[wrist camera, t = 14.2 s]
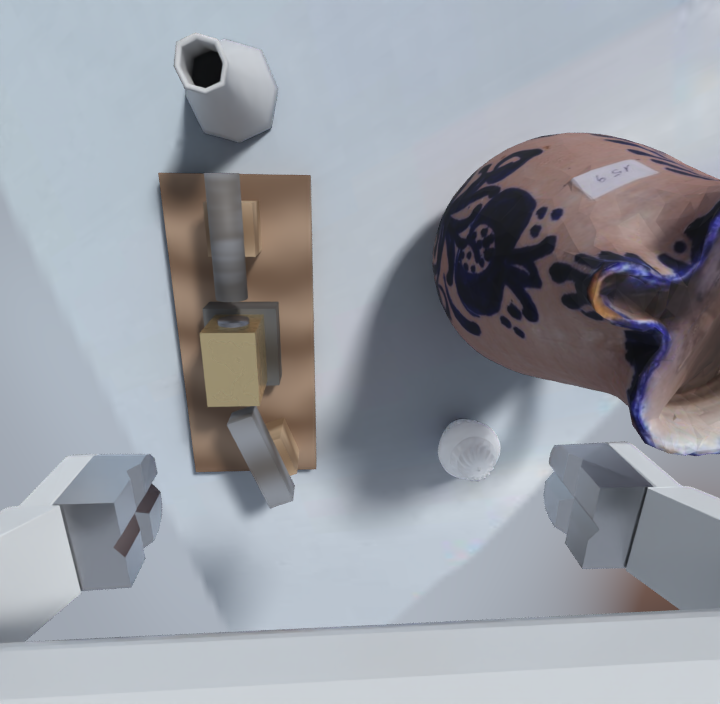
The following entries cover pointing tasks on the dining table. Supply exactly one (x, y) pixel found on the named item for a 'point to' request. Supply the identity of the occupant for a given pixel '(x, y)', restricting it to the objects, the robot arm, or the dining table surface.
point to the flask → (226, 86)
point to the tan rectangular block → (234, 360)
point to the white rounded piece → (468, 449)
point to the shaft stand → (247, 297)
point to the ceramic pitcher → (594, 277)
